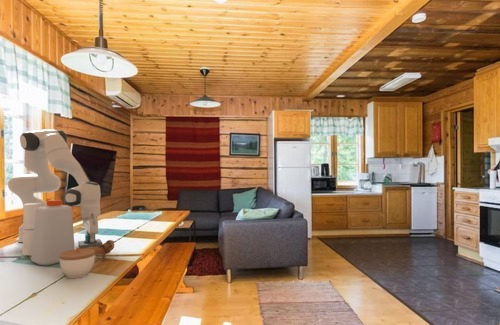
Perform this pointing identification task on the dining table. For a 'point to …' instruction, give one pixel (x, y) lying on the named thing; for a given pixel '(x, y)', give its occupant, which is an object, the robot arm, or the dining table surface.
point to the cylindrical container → (29, 226)
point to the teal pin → (88, 239)
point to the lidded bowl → (77, 262)
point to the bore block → (83, 245)
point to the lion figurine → (104, 249)
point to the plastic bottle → (52, 232)
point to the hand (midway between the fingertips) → (90, 239)
